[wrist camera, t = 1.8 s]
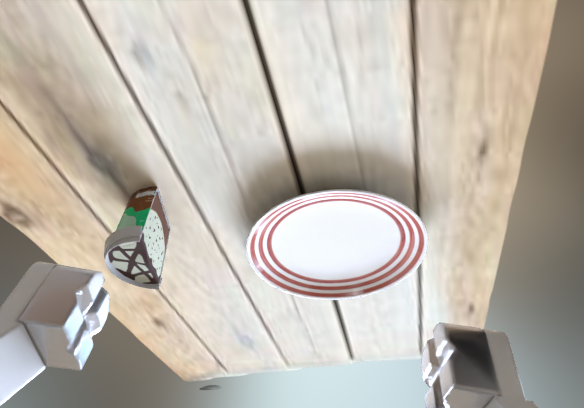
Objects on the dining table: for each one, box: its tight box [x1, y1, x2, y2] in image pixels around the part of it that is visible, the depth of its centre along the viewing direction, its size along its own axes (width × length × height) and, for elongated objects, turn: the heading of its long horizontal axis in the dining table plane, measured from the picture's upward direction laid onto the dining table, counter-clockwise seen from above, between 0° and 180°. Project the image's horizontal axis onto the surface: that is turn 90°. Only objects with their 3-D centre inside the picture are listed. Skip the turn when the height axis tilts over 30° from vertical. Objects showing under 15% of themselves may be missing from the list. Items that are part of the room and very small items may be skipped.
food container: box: [104, 187, 170, 289], centre depth 62 cm, size 12×6×10 cm, turn 179°
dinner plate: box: [246, 189, 428, 300], centre depth 70 cm, size 27×27×3 cm
